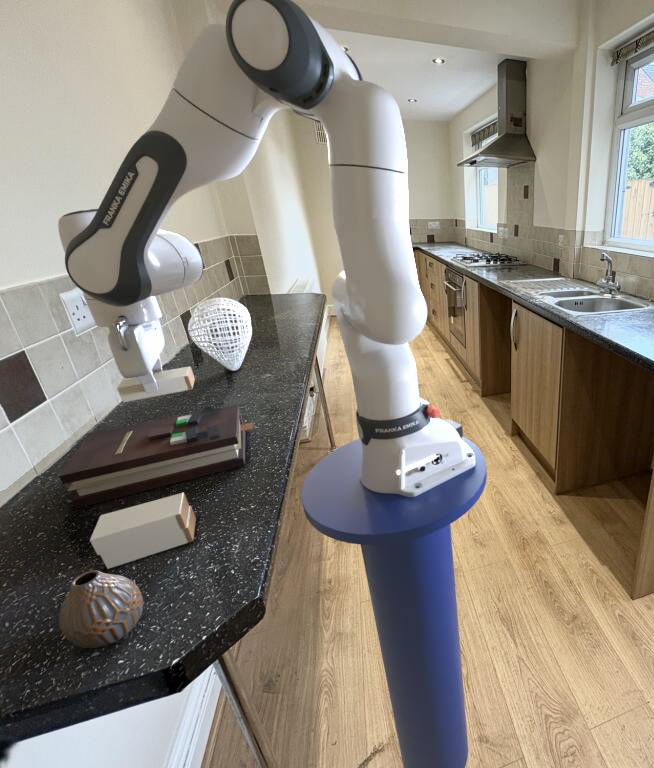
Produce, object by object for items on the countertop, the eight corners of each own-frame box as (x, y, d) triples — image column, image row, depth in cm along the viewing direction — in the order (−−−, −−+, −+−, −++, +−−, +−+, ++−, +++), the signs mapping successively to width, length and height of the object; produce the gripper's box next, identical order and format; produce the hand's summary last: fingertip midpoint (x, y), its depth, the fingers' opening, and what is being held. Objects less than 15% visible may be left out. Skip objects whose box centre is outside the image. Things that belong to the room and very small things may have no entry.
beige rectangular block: (196, 518, 68) (185, 491, 66) (193, 541, 64) (182, 513, 61) (114, 543, 63) (100, 514, 61) (105, 570, 58) (89, 540, 56)
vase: (80, 626, 51) (49, 573, 47) (151, 596, 54) (127, 546, 51) (69, 671, 46) (33, 616, 42) (149, 635, 49) (122, 582, 46)
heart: (264, 379, 126) (245, 307, 117) (203, 390, 118) (178, 314, 109) (260, 354, 147) (244, 292, 139) (208, 362, 140) (188, 297, 131)
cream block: (195, 379, 82) (190, 366, 81) (192, 389, 77) (187, 375, 76) (129, 391, 77) (123, 377, 76) (122, 402, 72) (116, 388, 71)
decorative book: (73, 429, 81) (248, 396, 95) (88, 462, 84) (256, 425, 98) (33, 480, 66) (249, 432, 80) (54, 517, 69) (258, 464, 83)
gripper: (139, 320, 64) (170, 400, 70) (158, 299, 80) (182, 365, 86) (85, 327, 61) (122, 409, 67) (116, 303, 77) (143, 371, 83)
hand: (156, 384), depth 76 cm, fingers closed on cream block, 6 cm apart
